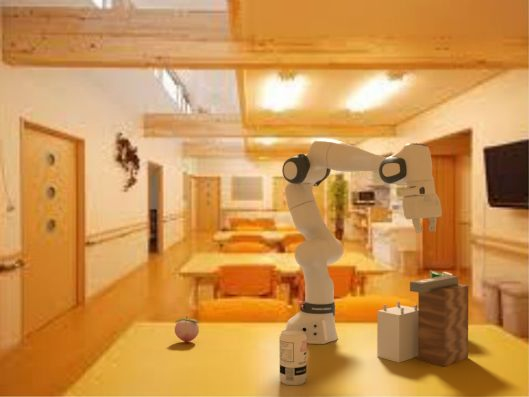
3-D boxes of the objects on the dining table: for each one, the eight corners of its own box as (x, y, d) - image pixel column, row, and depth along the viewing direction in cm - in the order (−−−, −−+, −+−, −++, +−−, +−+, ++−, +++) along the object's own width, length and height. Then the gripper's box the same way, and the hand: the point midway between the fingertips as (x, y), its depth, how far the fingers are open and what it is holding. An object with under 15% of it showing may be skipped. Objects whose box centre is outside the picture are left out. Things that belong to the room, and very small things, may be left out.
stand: (444, 366, 190) (444, 290, 189) (418, 359, 197) (418, 286, 197) (467, 357, 200) (468, 285, 199) (442, 351, 207) (442, 282, 207)
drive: (421, 293, 185) (421, 283, 185) (409, 291, 189) (409, 281, 189) (458, 285, 200) (458, 276, 200) (446, 283, 203) (446, 274, 203)
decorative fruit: (201, 339, 223) (201, 313, 223) (196, 345, 215) (196, 318, 215) (177, 339, 224) (177, 313, 224) (172, 344, 216) (172, 318, 216)
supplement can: (278, 377, 179) (278, 329, 179) (304, 376, 180) (304, 328, 180) (281, 386, 171) (281, 336, 171) (308, 385, 172) (308, 335, 171)
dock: (398, 362, 194) (399, 309, 194) (377, 356, 201) (377, 305, 201) (422, 354, 203) (422, 304, 203) (401, 349, 210) (401, 300, 210)
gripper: (427, 191, 203) (431, 231, 202) (397, 191, 188) (402, 234, 187) (444, 189, 199) (448, 229, 198) (415, 189, 183) (420, 232, 183)
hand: (425, 231), depth 192 cm, fingers open, 8 cm apart
